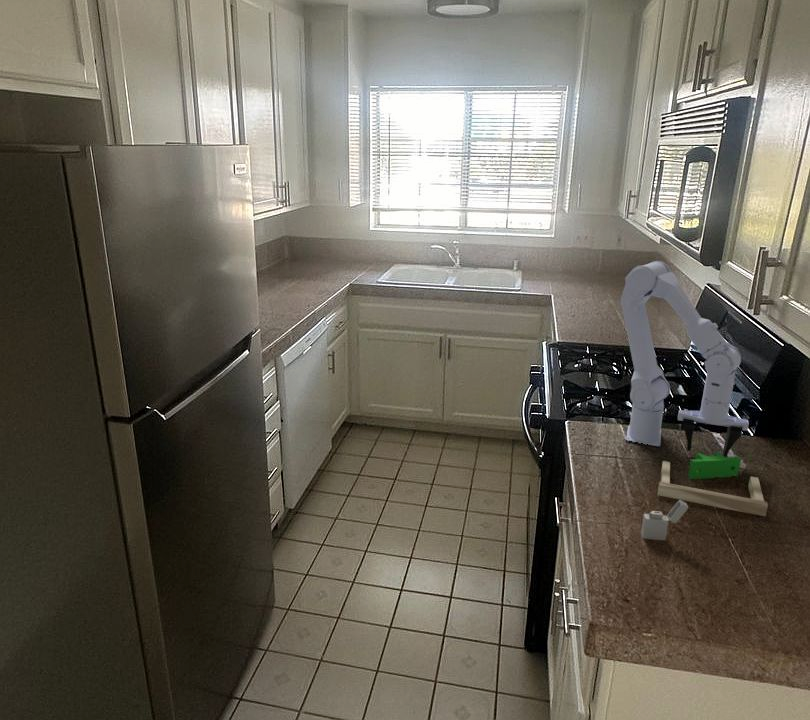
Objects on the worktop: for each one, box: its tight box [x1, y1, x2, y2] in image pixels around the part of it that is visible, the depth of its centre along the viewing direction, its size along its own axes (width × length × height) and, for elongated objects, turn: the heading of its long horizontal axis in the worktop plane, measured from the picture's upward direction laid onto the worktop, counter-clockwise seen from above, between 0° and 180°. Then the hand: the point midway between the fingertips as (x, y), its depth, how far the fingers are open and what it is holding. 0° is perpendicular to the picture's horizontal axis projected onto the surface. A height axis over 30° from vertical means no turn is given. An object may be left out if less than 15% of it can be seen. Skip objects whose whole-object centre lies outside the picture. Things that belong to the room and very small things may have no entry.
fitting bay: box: [657, 460, 769, 517], centre depth 129 cm, size 12×20×2 cm, turn 67°
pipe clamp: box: [687, 451, 742, 480], centre depth 136 cm, size 11×4×5 cm, turn 96°
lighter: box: [640, 499, 689, 541], centre depth 113 cm, size 7×2×8 cm, turn 81°
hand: (706, 451), depth 143 cm, fingers open, 7 cm apart
